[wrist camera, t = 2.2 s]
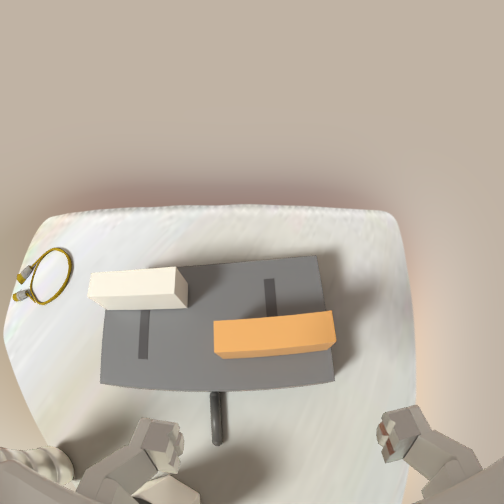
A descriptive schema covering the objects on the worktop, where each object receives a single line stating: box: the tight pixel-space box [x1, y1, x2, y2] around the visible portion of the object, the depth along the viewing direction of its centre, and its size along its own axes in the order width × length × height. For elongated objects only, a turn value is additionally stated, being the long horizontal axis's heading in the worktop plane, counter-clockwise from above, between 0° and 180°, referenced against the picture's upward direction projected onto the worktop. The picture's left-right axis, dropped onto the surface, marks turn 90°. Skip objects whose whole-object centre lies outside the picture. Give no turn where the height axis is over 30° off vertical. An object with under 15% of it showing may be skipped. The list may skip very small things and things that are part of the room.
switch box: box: [100, 255, 335, 446], centre depth 31 cm, size 23×27×5 cm
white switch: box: [87, 267, 188, 310], centre depth 30 cm, size 3×11×5 cm, turn 93°
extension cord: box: [13, 248, 72, 305], centre depth 40 cm, size 12×16×2 cm
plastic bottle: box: [0, 446, 74, 486], centre depth 16 cm, size 6×7×20 cm
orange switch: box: [214, 311, 336, 359], centre depth 26 cm, size 3×11×5 cm, turn 93°
